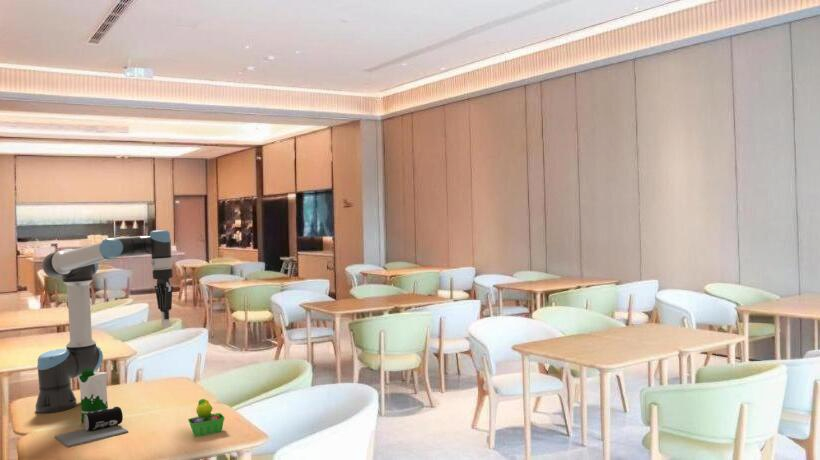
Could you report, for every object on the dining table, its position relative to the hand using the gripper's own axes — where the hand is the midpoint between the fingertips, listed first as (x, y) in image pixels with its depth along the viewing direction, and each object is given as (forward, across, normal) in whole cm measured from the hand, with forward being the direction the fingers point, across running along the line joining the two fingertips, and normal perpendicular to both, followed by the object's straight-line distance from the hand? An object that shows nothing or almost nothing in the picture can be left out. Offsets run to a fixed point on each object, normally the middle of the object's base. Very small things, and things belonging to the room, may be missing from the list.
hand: (165, 327), depth 275 cm
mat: (+32, +12, -34) cm, 48 cm away
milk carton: (+33, -6, -27) cm, 43 cm away
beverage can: (+29, +8, -22) cm, 37 cm away
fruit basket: (+33, +43, -5) cm, 54 cm away
